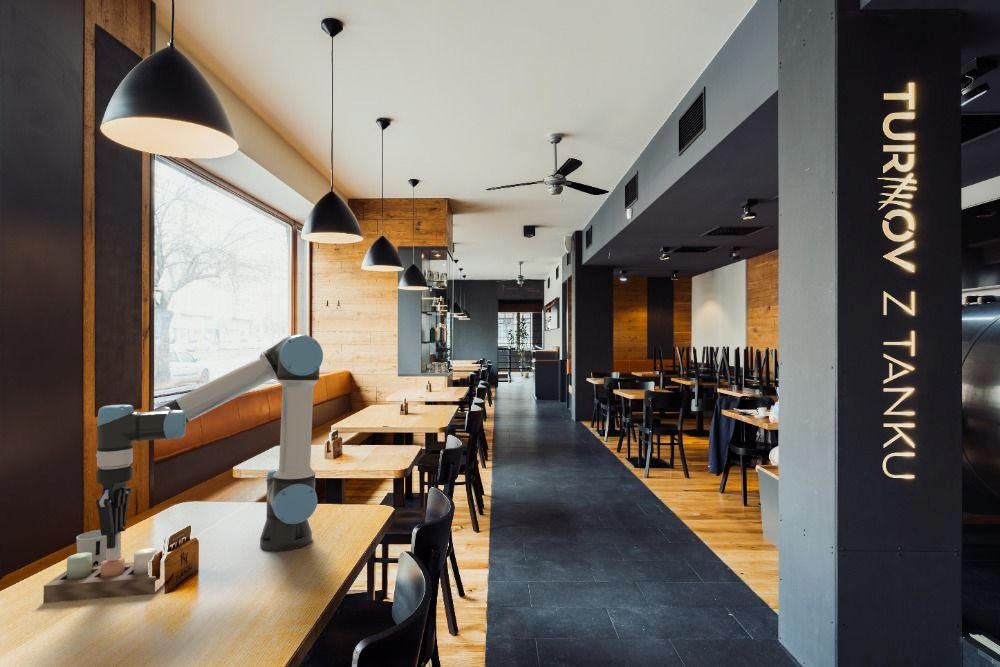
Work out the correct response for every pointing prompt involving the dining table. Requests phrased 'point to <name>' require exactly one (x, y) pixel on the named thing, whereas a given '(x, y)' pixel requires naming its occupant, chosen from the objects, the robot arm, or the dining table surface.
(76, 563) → the pale green rounded cube
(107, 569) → the pink rounded cube
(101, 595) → the wooden slotted tray
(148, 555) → the button cream
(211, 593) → the dining table surface
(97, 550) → the cup
